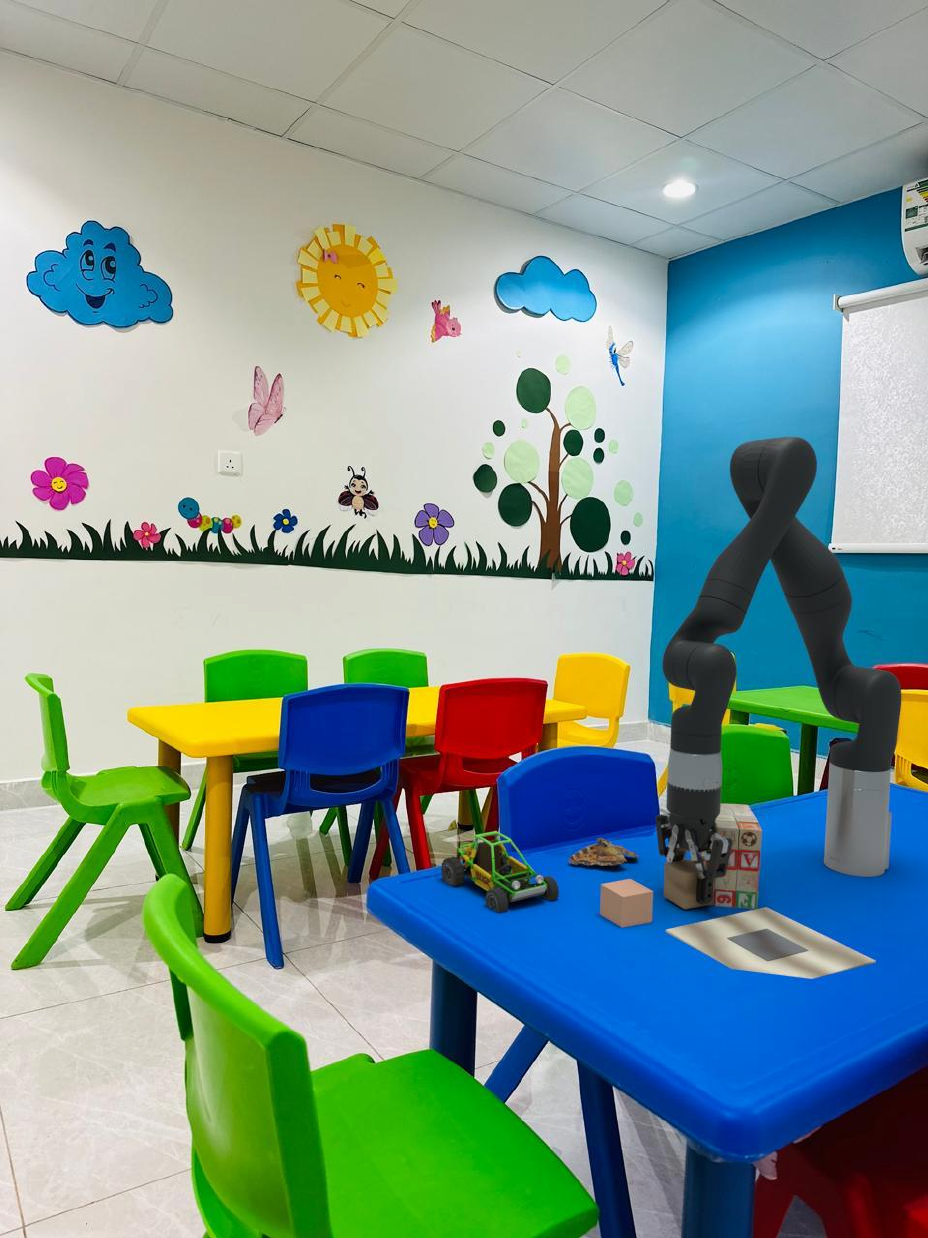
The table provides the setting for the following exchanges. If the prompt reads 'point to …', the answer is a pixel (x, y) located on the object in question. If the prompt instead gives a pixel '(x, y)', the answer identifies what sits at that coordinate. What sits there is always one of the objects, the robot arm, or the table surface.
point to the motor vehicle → (496, 872)
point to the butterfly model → (601, 854)
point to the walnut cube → (682, 883)
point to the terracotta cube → (626, 903)
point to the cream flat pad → (769, 945)
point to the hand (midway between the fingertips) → (689, 895)
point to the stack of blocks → (739, 857)
